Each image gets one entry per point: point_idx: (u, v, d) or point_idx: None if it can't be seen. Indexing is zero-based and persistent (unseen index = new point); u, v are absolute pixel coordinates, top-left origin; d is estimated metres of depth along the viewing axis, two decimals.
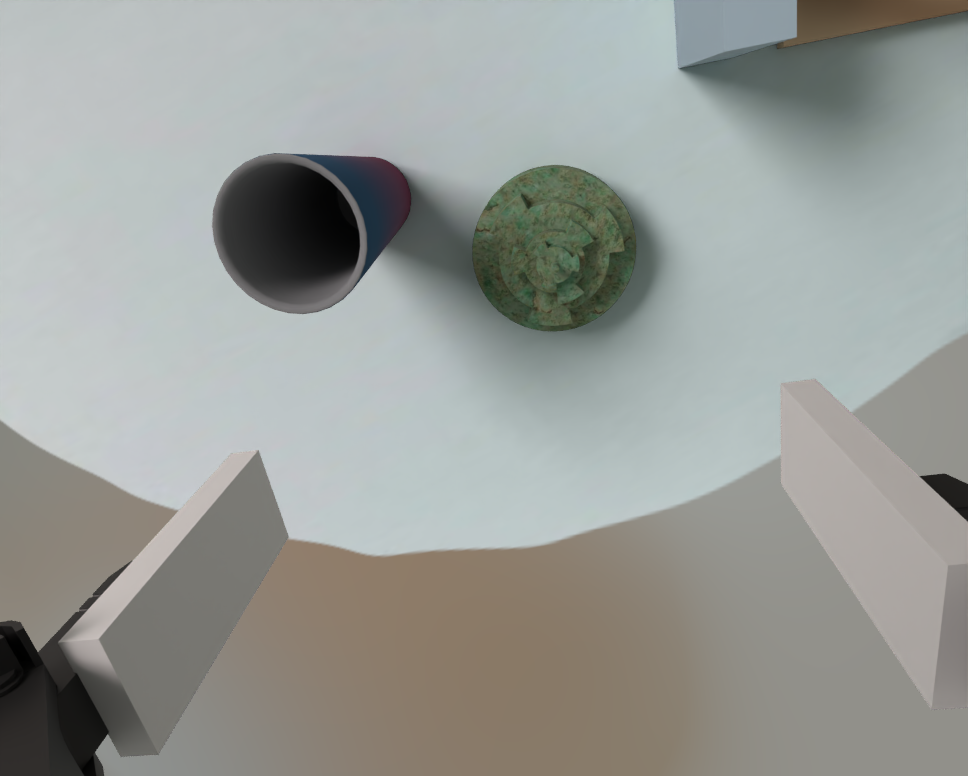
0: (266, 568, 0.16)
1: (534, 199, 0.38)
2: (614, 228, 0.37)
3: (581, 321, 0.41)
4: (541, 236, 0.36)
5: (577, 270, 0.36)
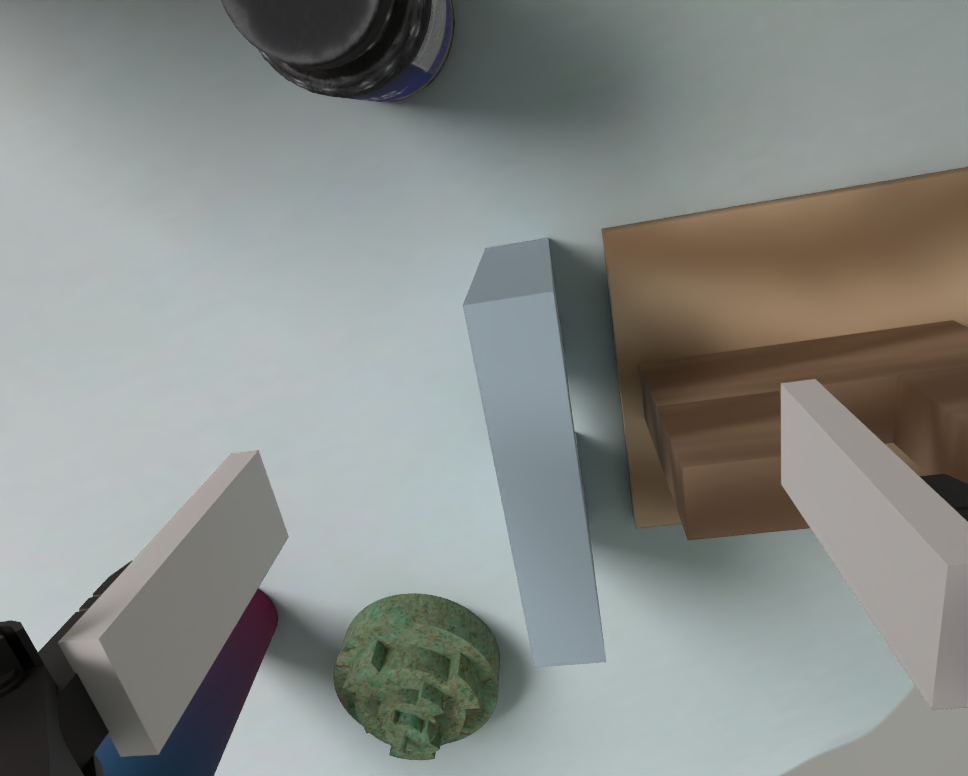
0: (266, 568, 0.16)
1: (391, 645, 0.37)
2: (468, 690, 0.36)
3: None
4: (391, 706, 0.36)
5: (427, 743, 0.35)
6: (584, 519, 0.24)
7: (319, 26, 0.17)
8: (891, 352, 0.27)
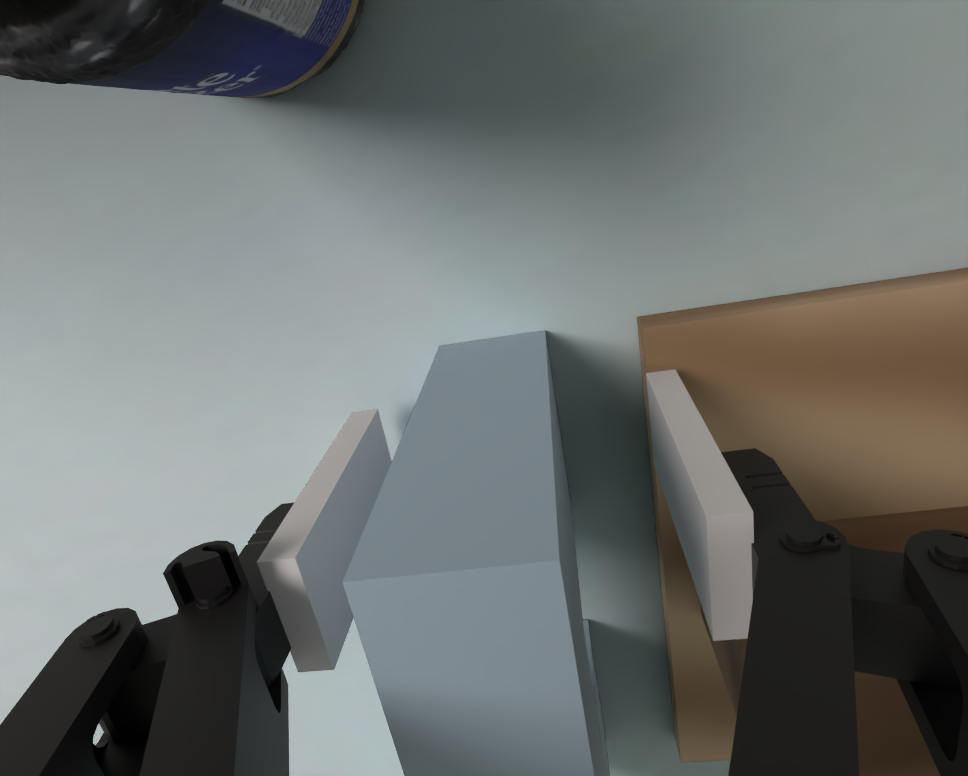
0: None
1: None
2: None
3: None
4: None
5: None
6: None
7: None
8: None
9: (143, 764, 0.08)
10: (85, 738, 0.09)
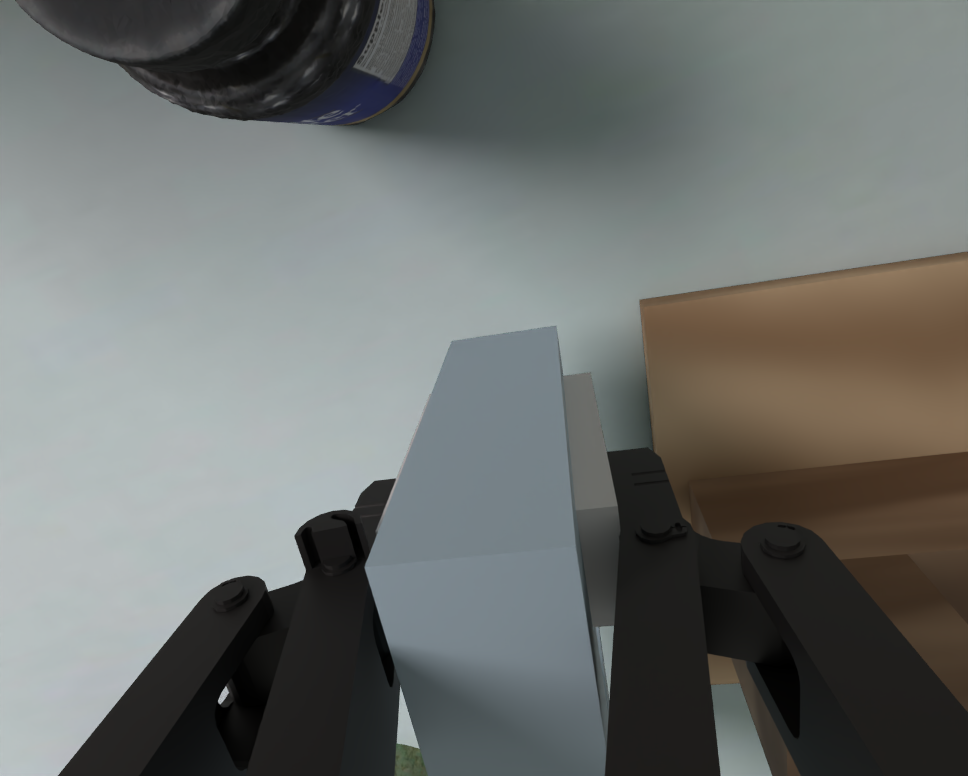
0: None
1: None
2: None
3: None
4: None
5: None
6: None
7: None
8: None
9: (262, 722, 0.08)
10: (209, 705, 0.09)
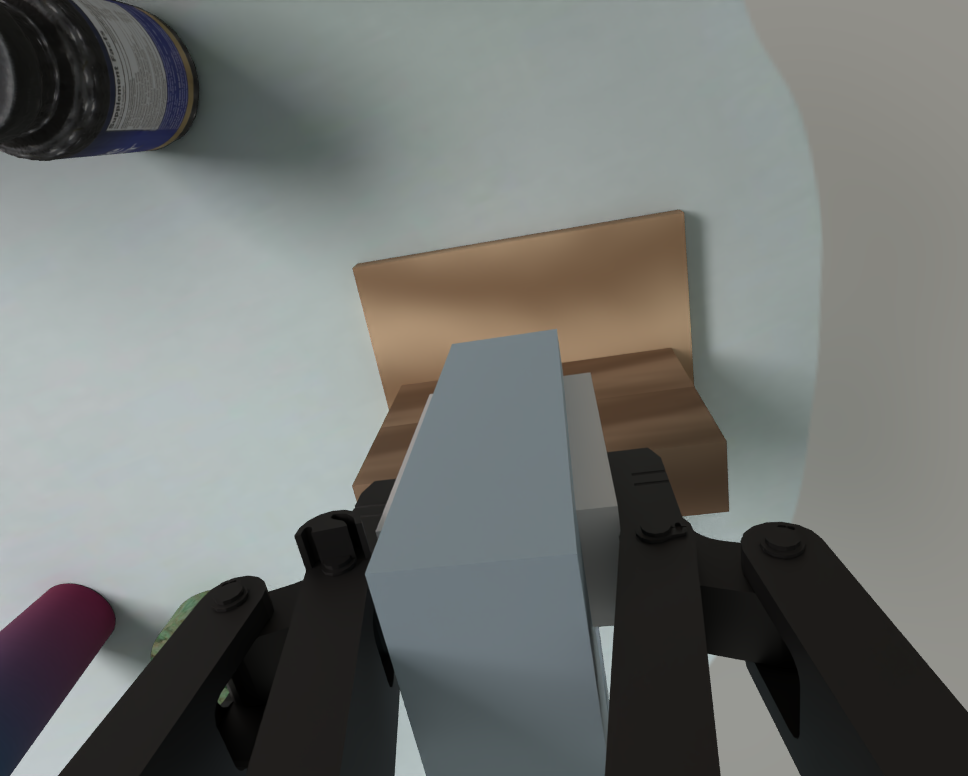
0: None
1: None
2: None
3: None
4: None
5: None
6: None
7: None
8: (598, 378, 0.30)
9: (261, 722, 0.08)
10: (209, 705, 0.09)
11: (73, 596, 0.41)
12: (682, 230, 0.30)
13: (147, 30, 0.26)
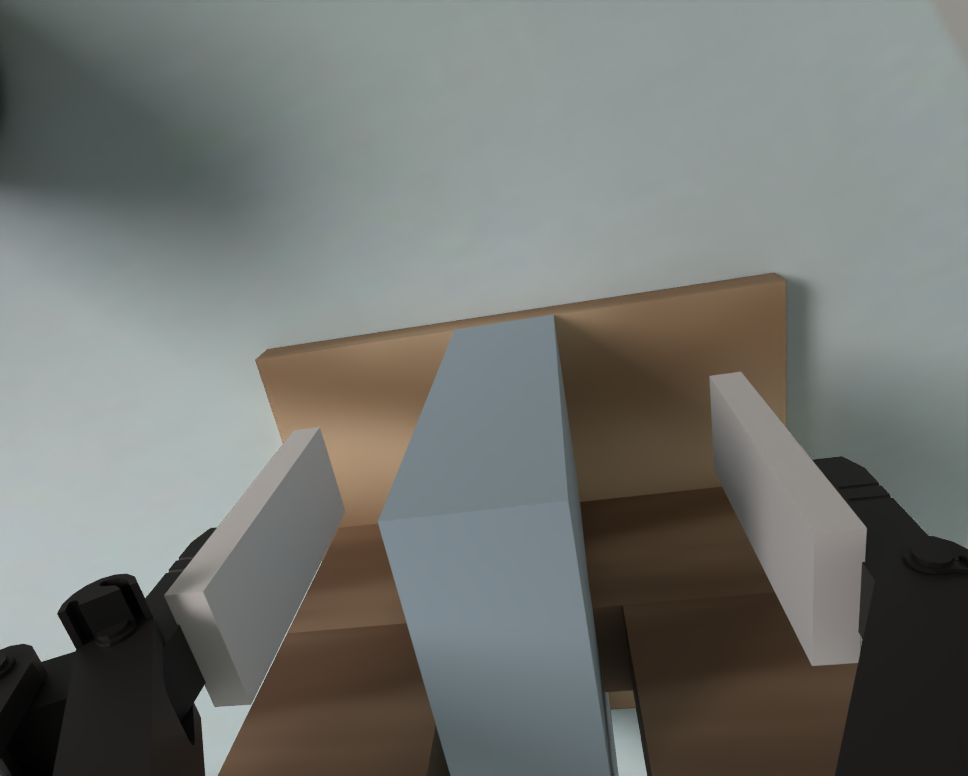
0: (329, 539, 0.17)
1: None
2: None
3: None
4: None
5: None
6: None
7: None
8: (643, 547, 0.18)
9: None
10: None
11: None
12: (781, 308, 0.18)
13: None
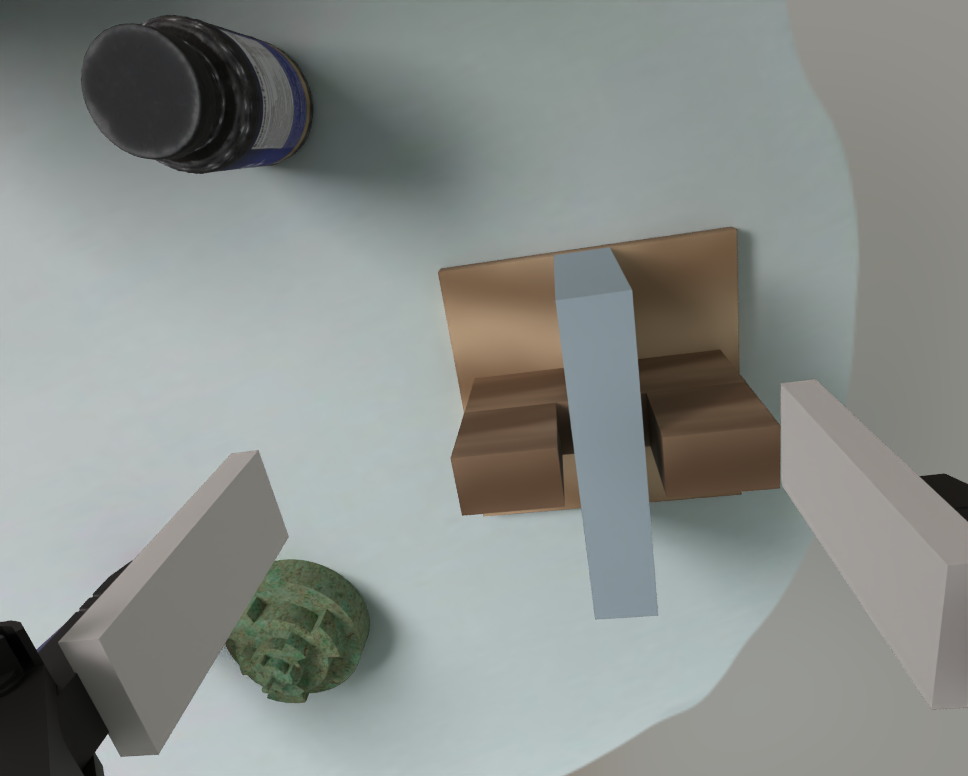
0: (266, 568, 0.16)
1: (268, 602, 0.44)
2: (328, 640, 0.42)
3: (322, 688, 0.46)
4: (261, 651, 0.42)
5: (290, 683, 0.42)
6: (646, 486, 0.28)
7: (159, 133, 0.24)
8: (656, 374, 0.34)
9: None
10: None
11: None
12: (734, 245, 0.34)
13: (280, 63, 0.30)
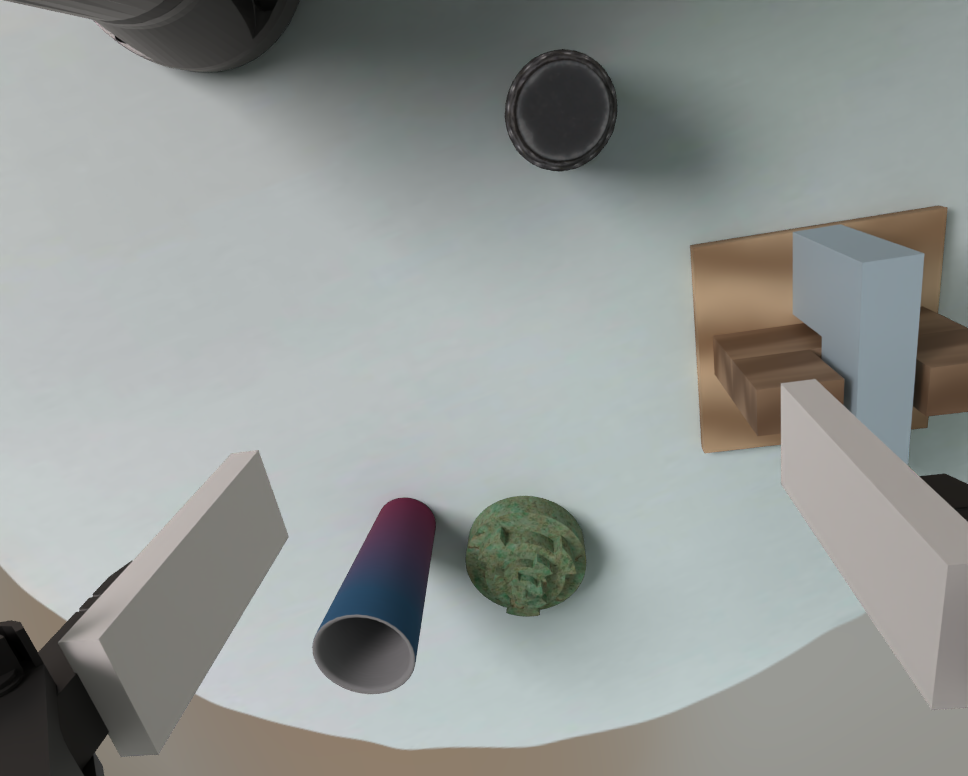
0: (266, 568, 0.16)
1: (510, 530, 0.52)
2: (568, 559, 0.51)
3: (547, 605, 0.55)
4: (515, 569, 0.50)
5: (541, 595, 0.50)
6: (911, 407, 0.36)
7: (571, 141, 0.32)
8: None
9: None
10: None
11: (414, 506, 0.53)
12: (944, 220, 0.42)
13: None
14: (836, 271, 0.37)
